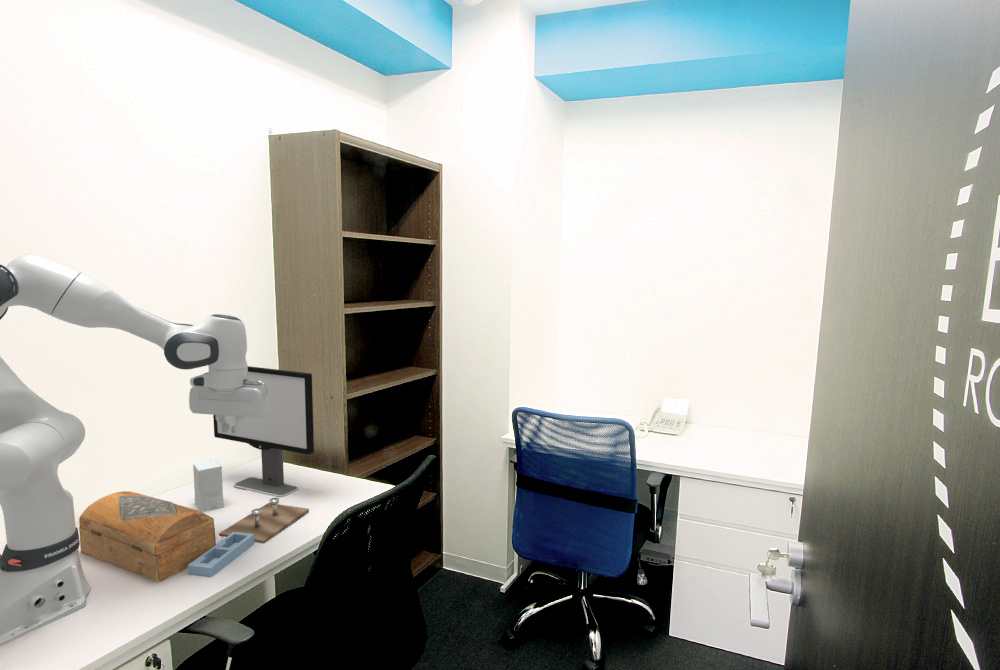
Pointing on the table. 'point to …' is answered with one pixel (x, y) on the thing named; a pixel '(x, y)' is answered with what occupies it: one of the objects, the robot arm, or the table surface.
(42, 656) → the table surface
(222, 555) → the blue compartment tray
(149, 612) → the table surface
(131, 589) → the table surface
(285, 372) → the computer monitor
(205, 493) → the small box
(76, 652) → the table surface
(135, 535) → the wooden box
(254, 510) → the steel bosses
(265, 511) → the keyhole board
